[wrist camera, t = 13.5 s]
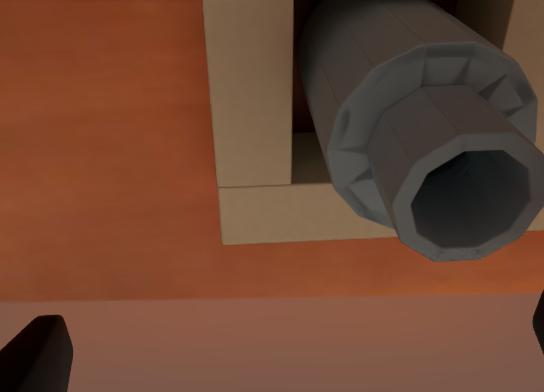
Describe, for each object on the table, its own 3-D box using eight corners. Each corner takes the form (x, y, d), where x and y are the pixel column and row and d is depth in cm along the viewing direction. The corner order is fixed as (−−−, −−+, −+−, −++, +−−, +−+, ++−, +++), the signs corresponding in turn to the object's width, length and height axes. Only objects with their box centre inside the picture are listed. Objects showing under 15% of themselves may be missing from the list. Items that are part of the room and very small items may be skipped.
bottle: (426, 114, 20) (558, 288, 12) (294, 119, 20) (337, 299, 12) (449, -25, 18) (643, 77, 9) (296, -21, 17) (354, 86, 9)
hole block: (671, 168, 23) (747, 221, 19) (223, 187, 22) (222, 246, 18) (816, -130, 17) (964, -128, 13) (201, -122, 16) (192, -117, 12)
